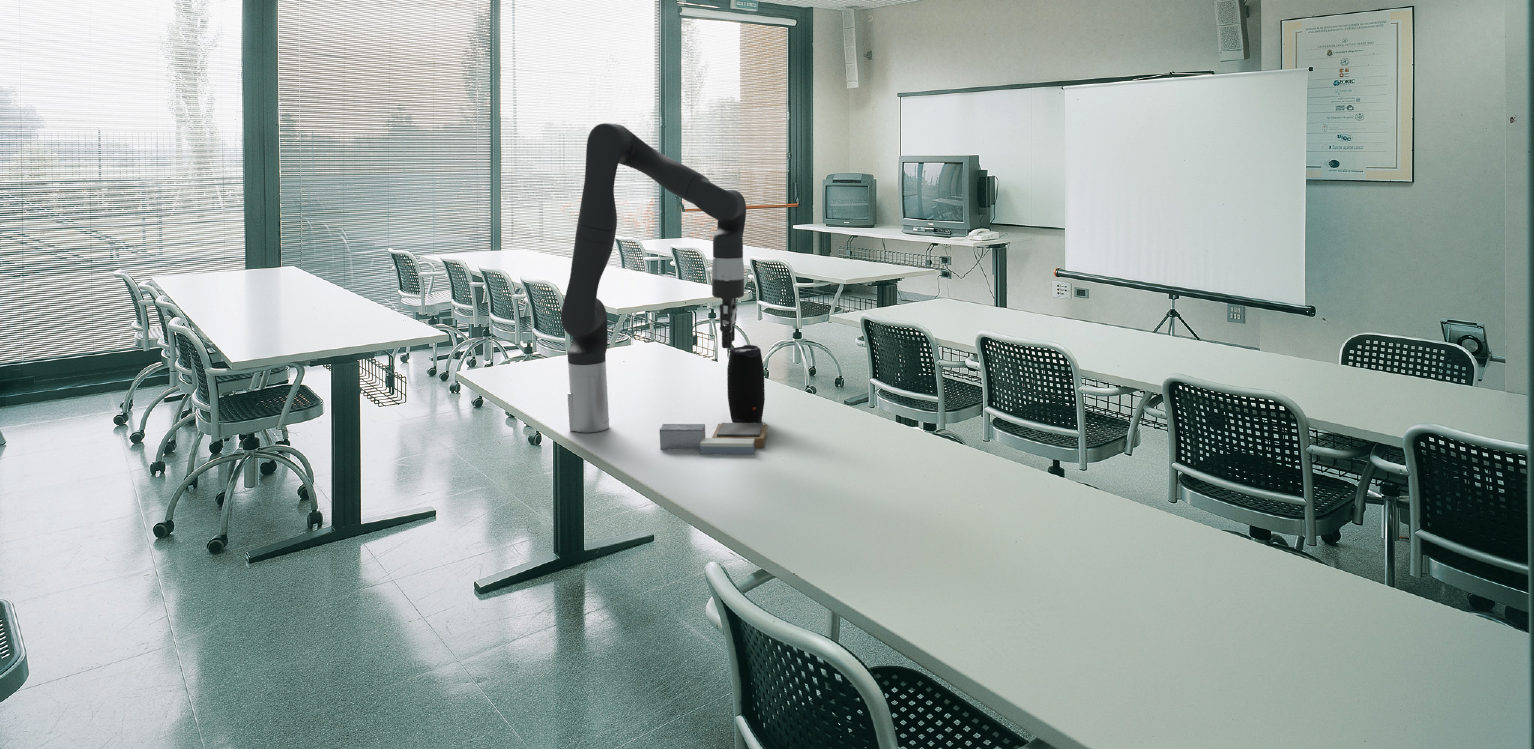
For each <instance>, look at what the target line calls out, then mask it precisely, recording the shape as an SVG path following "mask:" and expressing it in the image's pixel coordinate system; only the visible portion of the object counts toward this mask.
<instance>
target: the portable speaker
mask: <svg viewBox="0 0 1534 749" xmlns="http://www.w3.org/2000/svg"><path fill="white" fill-rule="evenodd" d="M728 354H729V356H728V363H727V367H726V368H727V370H726V371H727V372H726V374H727V375H726V376H727V380H726V381H727V382H726V383H727V401H728V407H729V408H728V409H729V415H730V418H731V419H730V420H731V421H732V422H731V423H763V414H764V408H765V400H766V399H765V397H766V396H765V368H764V367H765V366H764V362H763V357H762V351H761V348H760V347H759V346H758V345H753V344H744V345H743V346H736V347H734V346H731V348H729V352H728Z"/></svg>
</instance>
